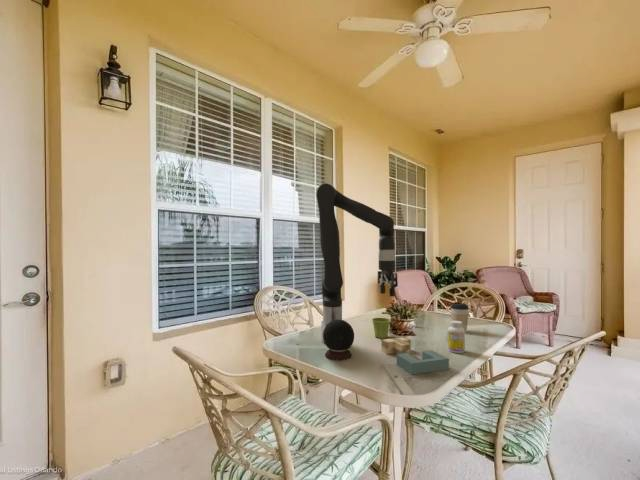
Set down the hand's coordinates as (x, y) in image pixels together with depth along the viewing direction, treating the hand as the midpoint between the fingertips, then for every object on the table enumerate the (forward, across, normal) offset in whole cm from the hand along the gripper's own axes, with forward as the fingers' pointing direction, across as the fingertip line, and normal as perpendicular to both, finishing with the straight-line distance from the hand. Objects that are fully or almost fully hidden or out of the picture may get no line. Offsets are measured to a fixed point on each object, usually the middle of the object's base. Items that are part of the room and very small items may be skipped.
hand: (387, 294), depth 147 cm
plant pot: (+24, -13, +4) cm, 27 cm away
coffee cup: (+24, -10, +49) cm, 55 cm away
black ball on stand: (+23, +5, -26) cm, 36 cm away
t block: (+23, +11, -1) cm, 26 cm away
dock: (+23, +26, -1) cm, 35 cm away
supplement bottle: (+24, +16, +24) cm, 38 cm away
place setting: (+24, -19, +22) cm, 38 cm away
